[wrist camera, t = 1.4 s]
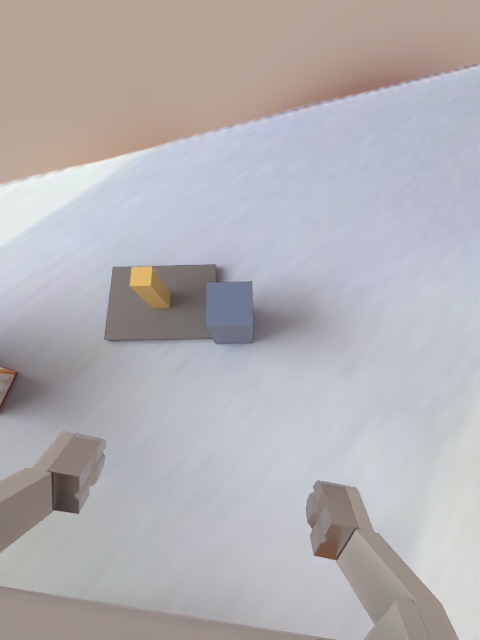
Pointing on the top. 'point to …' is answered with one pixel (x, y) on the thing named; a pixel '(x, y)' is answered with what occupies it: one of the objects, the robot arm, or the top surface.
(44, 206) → the top surface
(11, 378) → the cracker box
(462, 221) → the top surface
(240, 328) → the blue rectangular block
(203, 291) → the marker stand
